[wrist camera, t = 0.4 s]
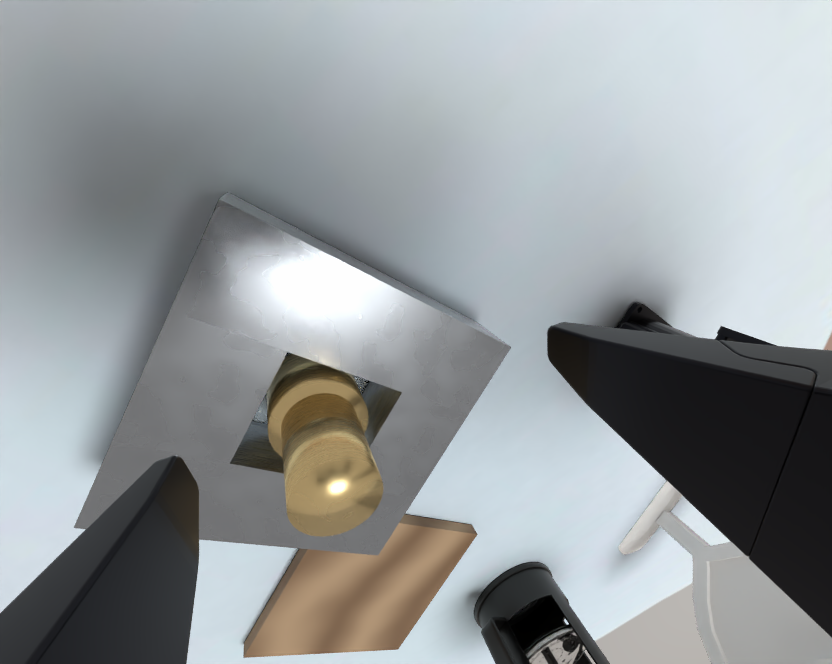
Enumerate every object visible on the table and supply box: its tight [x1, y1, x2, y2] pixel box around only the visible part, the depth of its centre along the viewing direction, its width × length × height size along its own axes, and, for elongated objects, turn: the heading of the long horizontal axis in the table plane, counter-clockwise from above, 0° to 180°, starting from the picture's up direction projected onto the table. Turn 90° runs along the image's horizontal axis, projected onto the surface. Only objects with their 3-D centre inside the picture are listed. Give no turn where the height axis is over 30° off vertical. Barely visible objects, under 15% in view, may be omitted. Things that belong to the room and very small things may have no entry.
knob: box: [267, 354, 383, 537], centre depth 19 cm, size 5×5×9 cm
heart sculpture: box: [618, 481, 832, 664], centre depth 37 cm, size 16×5×18 cm, turn 153°
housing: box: [74, 192, 511, 555], centre depth 21 cm, size 16×16×4 cm
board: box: [244, 514, 477, 658], centre depth 31 cm, size 14×14×1 cm
